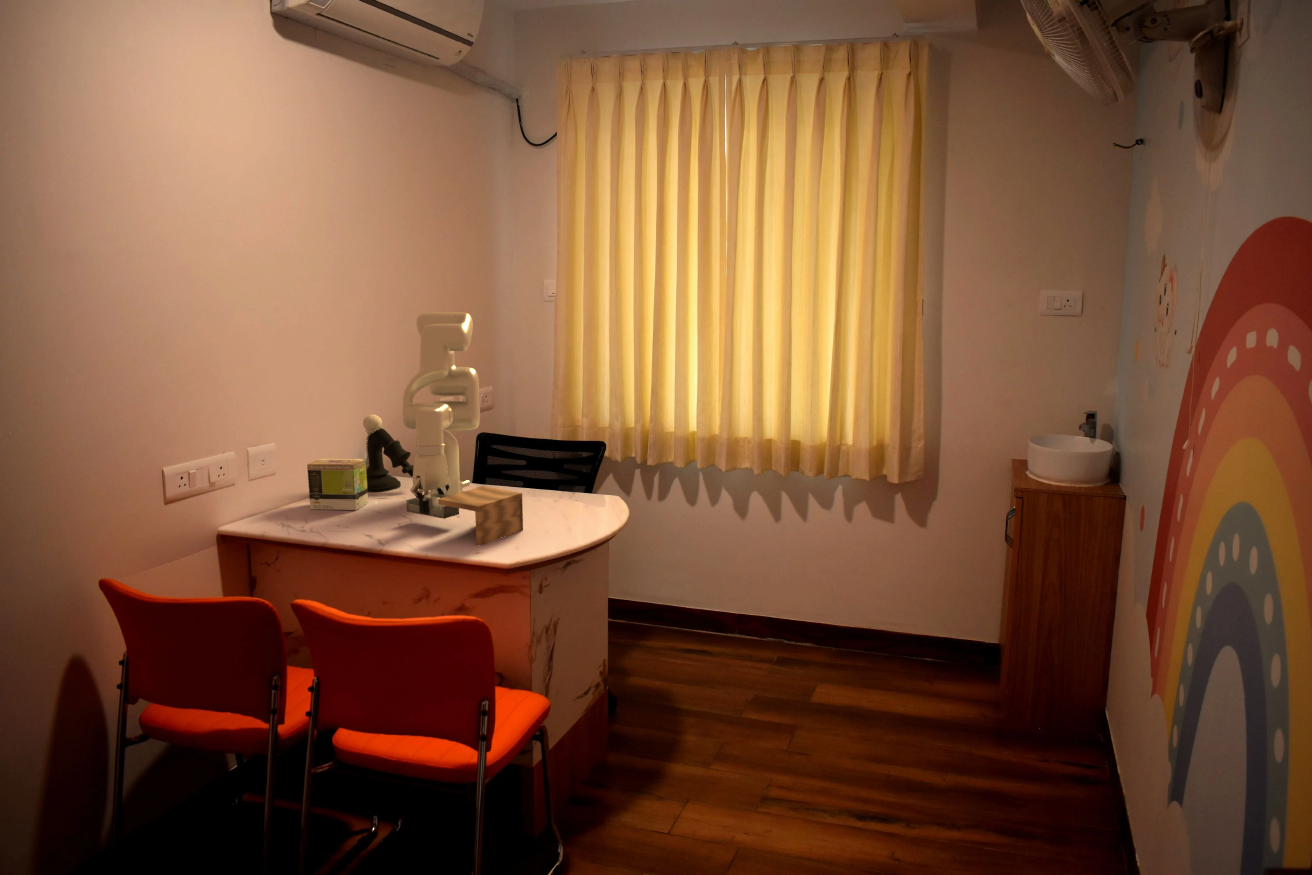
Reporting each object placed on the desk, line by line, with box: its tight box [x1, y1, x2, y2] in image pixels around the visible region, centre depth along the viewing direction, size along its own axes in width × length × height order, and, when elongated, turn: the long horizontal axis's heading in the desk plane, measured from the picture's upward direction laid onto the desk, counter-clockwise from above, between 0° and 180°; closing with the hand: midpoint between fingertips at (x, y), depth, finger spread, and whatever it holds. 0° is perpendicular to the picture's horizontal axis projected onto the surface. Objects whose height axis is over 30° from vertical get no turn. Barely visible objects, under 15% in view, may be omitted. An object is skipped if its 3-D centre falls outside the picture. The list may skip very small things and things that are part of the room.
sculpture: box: [362, 414, 414, 493], centre depth 309 cm, size 15×24×25 cm, turn 68°
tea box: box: [306, 457, 369, 511], centre depth 286 cm, size 15×10×15 cm
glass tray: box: [406, 493, 460, 520], centre depth 266 cm, size 6×15×5 cm, turn 58°
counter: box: [438, 485, 524, 546], centre depth 258 cm, size 18×15×11 cm
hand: (432, 510), depth 266 cm, fingers closed on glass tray, 6 cm apart
